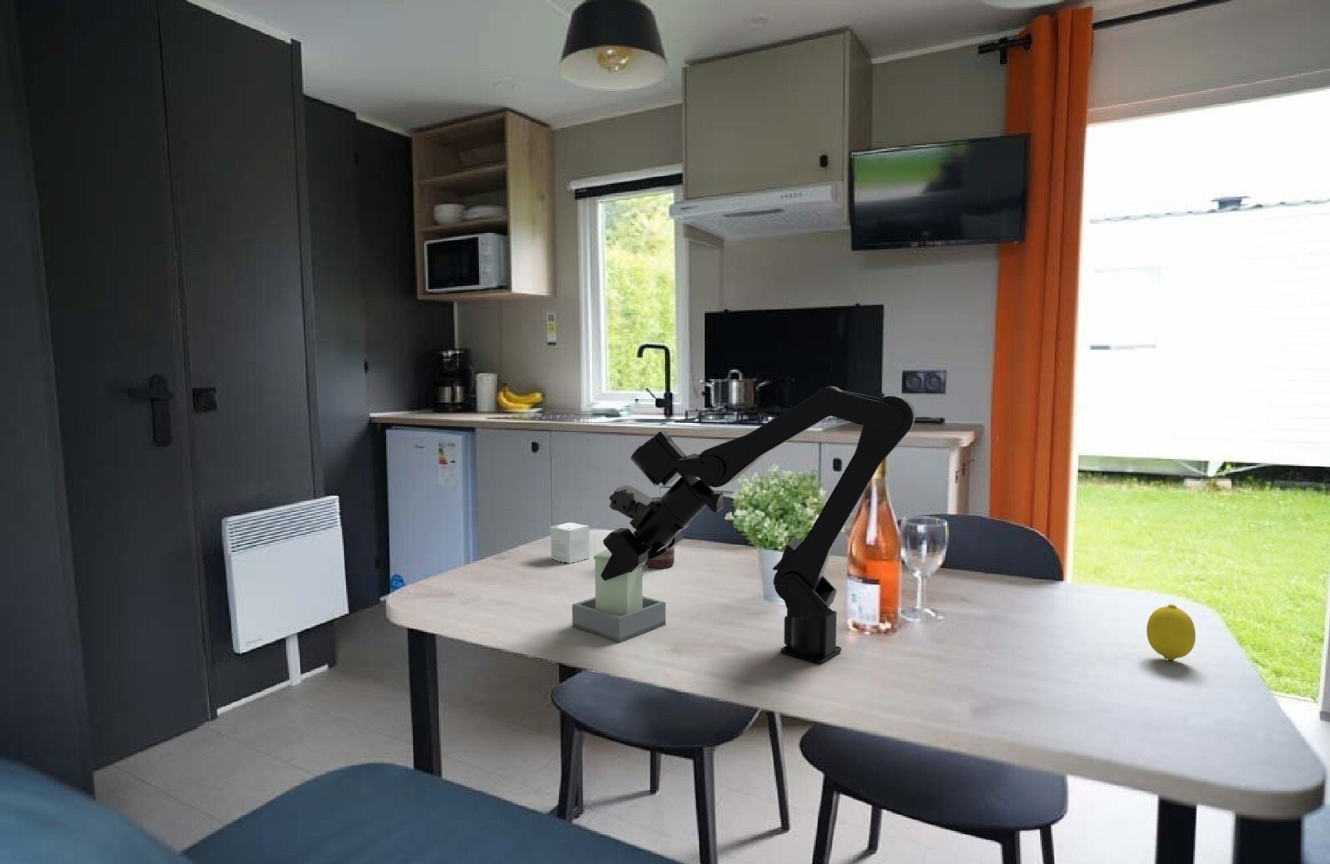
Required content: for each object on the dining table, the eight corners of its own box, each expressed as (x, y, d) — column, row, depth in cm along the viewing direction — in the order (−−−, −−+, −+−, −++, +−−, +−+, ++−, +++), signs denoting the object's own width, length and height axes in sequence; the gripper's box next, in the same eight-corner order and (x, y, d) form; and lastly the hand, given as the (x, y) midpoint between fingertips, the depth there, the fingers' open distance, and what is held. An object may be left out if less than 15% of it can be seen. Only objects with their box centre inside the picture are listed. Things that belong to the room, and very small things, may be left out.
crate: (665, 624, 115) (665, 602, 114) (619, 642, 107) (619, 618, 107) (618, 610, 122) (618, 589, 121) (572, 626, 114) (572, 604, 113)
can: (672, 569, 147) (672, 501, 146) (642, 568, 149) (642, 500, 148) (677, 562, 153) (678, 497, 152) (648, 560, 155) (648, 496, 154)
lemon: (1195, 672, 96) (1199, 613, 96) (1145, 663, 99) (1148, 606, 99) (1192, 658, 101) (1195, 602, 100) (1144, 650, 104) (1147, 596, 103)
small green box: (643, 611, 116) (643, 550, 115) (628, 623, 110) (627, 558, 110) (611, 607, 118) (610, 547, 117) (594, 618, 113) (593, 555, 112)
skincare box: (590, 559, 156) (589, 525, 156) (568, 564, 152) (568, 529, 151) (571, 554, 160) (571, 521, 160) (550, 559, 156) (549, 525, 155)
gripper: (664, 462, 119) (605, 524, 124) (615, 477, 102) (548, 547, 107) (709, 513, 117) (647, 573, 122) (666, 536, 100) (596, 605, 105)
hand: (611, 573), depth 114 cm, fingers closed on small green box, 5 cm apart
